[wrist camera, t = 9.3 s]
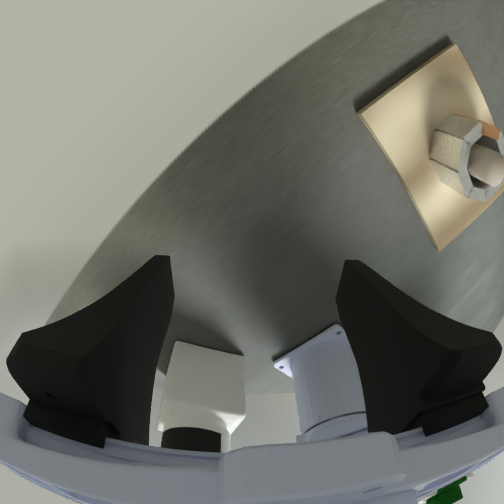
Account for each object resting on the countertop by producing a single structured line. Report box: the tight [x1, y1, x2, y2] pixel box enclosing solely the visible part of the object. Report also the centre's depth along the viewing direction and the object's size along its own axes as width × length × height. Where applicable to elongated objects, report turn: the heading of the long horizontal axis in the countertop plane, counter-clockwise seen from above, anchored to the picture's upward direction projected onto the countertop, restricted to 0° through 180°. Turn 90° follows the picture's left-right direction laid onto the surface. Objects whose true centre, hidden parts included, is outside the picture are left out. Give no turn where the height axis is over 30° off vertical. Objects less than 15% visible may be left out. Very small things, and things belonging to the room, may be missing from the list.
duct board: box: [357, 44, 504, 251], centre depth 16 cm, size 14×11×6 cm
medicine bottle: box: [157, 341, 246, 453], centre depth 24 cm, size 7×7×12 cm
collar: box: [429, 114, 504, 202], centre depth 16 cm, size 6×6×4 cm
